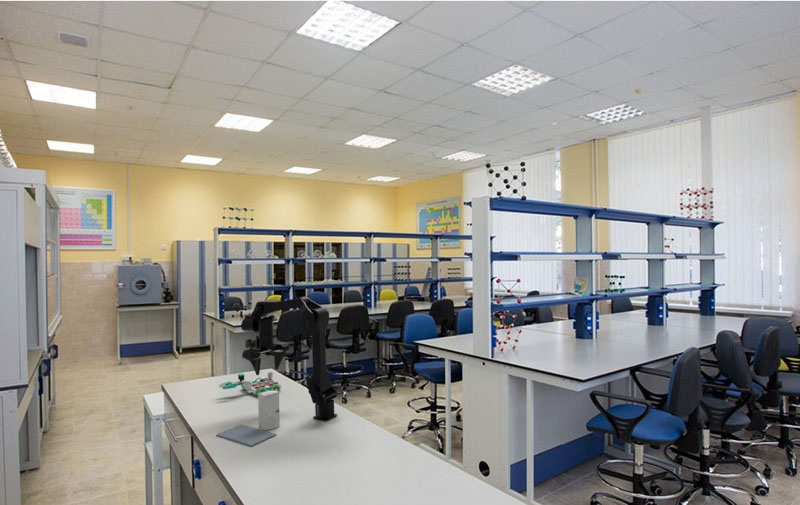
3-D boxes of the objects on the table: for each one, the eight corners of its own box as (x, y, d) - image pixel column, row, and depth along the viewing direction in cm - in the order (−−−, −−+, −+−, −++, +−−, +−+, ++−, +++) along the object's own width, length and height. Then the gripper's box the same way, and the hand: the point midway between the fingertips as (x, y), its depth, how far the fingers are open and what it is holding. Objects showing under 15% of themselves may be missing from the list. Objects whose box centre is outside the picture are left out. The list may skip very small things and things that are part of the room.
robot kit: (214, 396, 194) (213, 374, 194) (268, 384, 211) (267, 364, 211) (230, 405, 180) (230, 382, 180) (286, 392, 197) (286, 371, 197)
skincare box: (264, 431, 151) (263, 395, 151) (258, 428, 154) (257, 393, 155) (280, 426, 155) (279, 391, 156) (274, 423, 159) (273, 389, 159)
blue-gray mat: (276, 435, 147) (276, 433, 147) (251, 446, 139) (251, 445, 139) (241, 425, 157) (241, 424, 157) (216, 435, 149) (216, 434, 149)
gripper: (271, 327, 187) (272, 365, 187) (232, 335, 171) (233, 375, 171) (289, 329, 181) (290, 367, 181) (251, 337, 165) (252, 379, 165)
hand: (267, 372), depth 175 cm, fingers open, 9 cm apart
